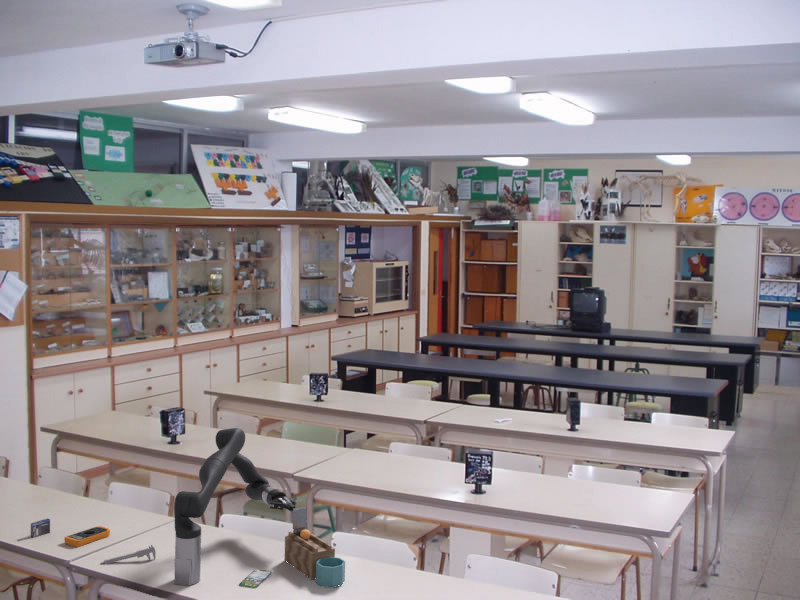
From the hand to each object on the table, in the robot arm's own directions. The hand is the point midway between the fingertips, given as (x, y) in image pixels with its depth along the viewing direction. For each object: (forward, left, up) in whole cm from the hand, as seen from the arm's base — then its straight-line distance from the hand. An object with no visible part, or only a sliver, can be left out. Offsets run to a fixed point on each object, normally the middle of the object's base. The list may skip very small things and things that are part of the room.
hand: (293, 508), depth 325 cm
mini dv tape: (-4, +110, -20) cm, 112 cm away
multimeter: (-4, +88, -20) cm, 90 cm away
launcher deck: (-10, -10, -19) cm, 24 cm away
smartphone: (-26, +6, -20) cm, 34 cm away
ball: (-8, -7, -7) cm, 13 cm away
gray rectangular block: (-4, -4, -9) cm, 11 cm away
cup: (-22, -22, -19) cm, 36 cm away
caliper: (-22, +60, -20) cm, 67 cm away
